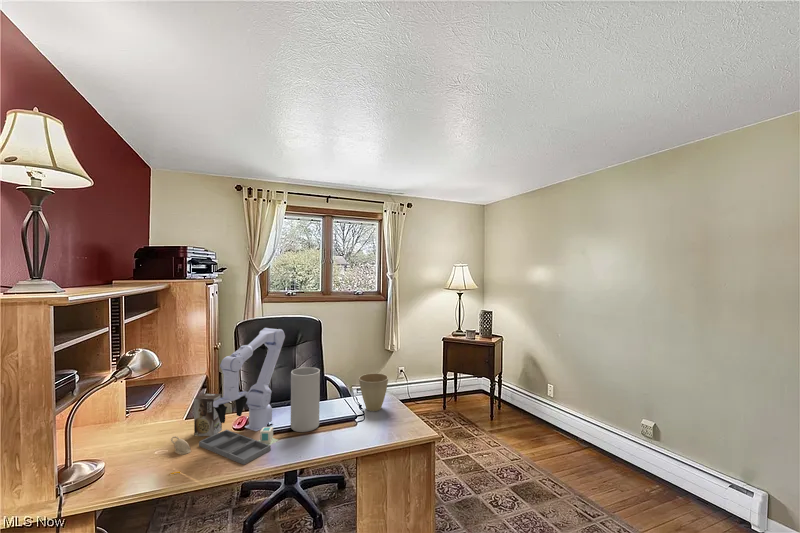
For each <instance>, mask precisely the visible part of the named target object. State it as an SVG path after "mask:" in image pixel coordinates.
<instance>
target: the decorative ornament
mask: <svg viewBox="0 0 800 533" xmlns="http://www.w3.org/2000/svg"><path fill="white" fill-rule="evenodd" d="M173 439H177V440H176V441H174V440H173ZM170 441H171V443H172V444H174V453H176V454H178V455H181V456H182V455H187V454H190V453H191V452H192V450H191V447H190V445H189V443H188V442H187V441H186V440H185V439H183V438H179V437H178V436H172V437H171V439H170Z"/></svg>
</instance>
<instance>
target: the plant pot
mask: <svg viewBox="0 0 800 533" xmlns="http://www.w3.org/2000/svg"><path fill="white" fill-rule="evenodd" d="M358 382H359V387H360V393H361V396H362V397H361V398H362V401H363V403H364V406H365V408H366V410H367V411H368V412H369V411H370V412H379V411H380V410H381V409H382V407H383V403H384V401H385V397H386V394H387V390H388V382H389V376H388V375H387V374H385V373H378V372H375V373H374V372H373V373H366V374H362V375H360V376H359V377H358Z"/></svg>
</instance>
